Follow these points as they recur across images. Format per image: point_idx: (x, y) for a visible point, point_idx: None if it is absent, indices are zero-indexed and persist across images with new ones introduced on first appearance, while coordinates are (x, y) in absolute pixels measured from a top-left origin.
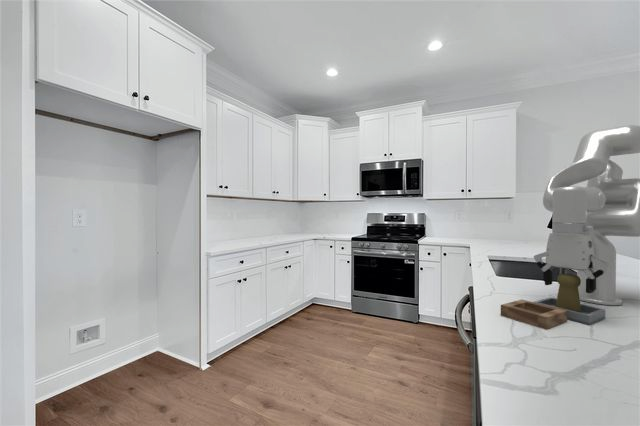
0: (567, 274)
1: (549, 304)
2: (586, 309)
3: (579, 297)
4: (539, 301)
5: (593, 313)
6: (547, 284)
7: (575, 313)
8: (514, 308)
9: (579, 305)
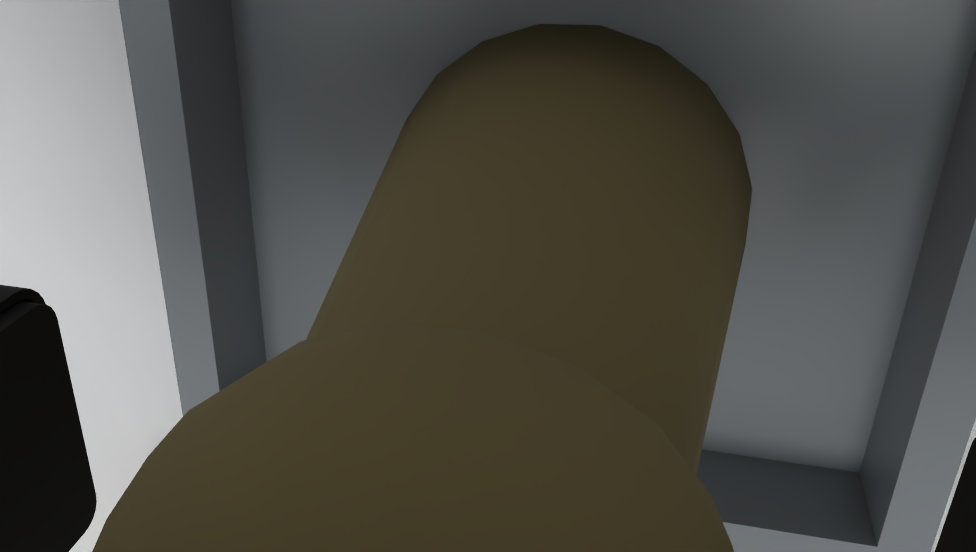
0: None
1: (227, 17)
2: None
3: (718, 348)
4: (206, 366)
5: (954, 427)
6: (85, 519)
7: (737, 550)
8: None
9: (729, 319)
